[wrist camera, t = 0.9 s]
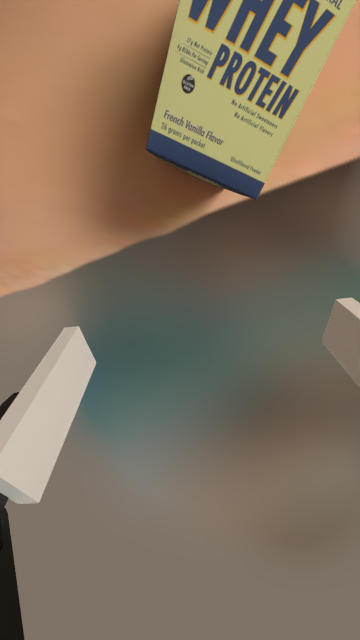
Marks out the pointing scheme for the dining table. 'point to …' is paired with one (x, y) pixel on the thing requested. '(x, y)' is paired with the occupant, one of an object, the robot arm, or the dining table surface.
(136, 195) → the dining table surface
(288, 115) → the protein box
